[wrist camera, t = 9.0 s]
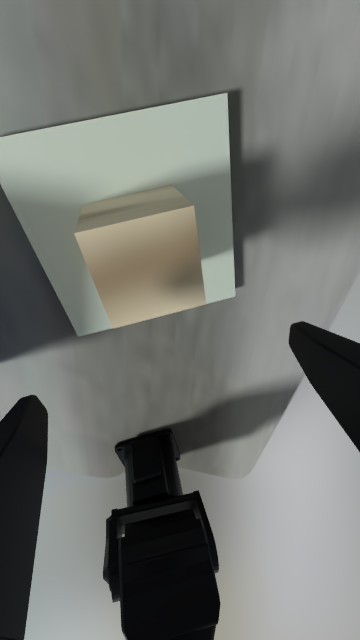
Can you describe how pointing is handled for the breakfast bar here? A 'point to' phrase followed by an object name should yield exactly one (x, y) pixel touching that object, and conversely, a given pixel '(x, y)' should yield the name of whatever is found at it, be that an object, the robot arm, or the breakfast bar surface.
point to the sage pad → (121, 189)
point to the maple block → (142, 254)
